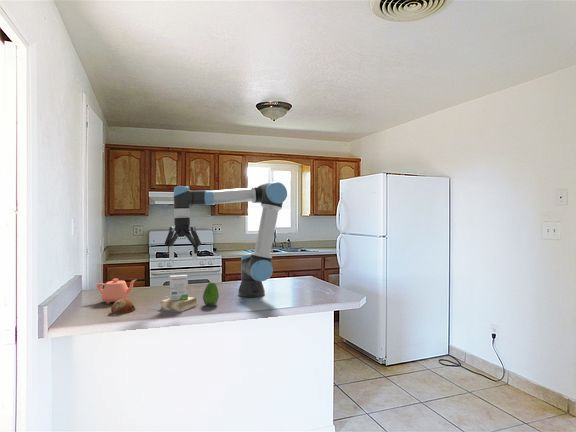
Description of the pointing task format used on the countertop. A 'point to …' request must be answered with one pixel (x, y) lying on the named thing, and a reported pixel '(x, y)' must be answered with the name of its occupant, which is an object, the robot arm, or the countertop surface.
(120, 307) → the bread roll
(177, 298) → the ink box
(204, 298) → the avocado
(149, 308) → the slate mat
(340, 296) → the countertop surface
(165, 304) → the maple plinth
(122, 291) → the teapot
